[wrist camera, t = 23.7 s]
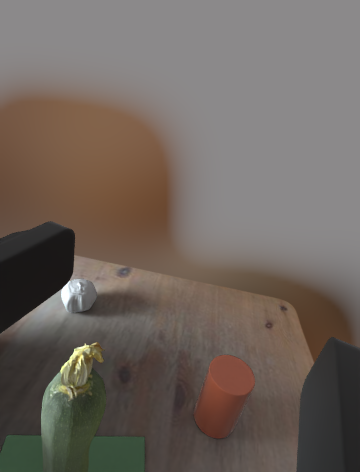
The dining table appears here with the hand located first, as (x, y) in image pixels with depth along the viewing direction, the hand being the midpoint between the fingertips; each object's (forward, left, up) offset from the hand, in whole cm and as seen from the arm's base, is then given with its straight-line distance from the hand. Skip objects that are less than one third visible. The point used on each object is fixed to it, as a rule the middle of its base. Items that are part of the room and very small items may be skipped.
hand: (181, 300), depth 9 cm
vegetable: (+8, -3, -30) cm, 31 cm away
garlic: (+27, -20, -30) cm, 45 cm away
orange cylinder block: (+1, -19, -30) cm, 36 cm away
